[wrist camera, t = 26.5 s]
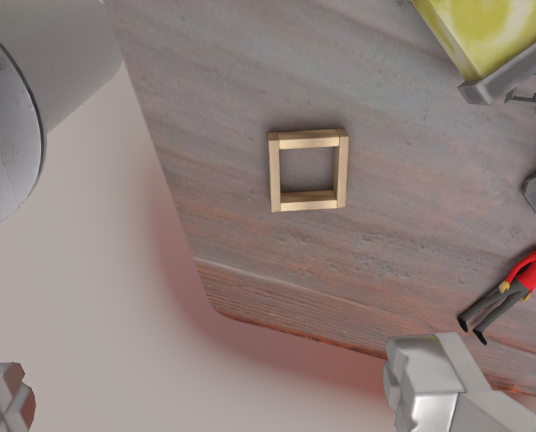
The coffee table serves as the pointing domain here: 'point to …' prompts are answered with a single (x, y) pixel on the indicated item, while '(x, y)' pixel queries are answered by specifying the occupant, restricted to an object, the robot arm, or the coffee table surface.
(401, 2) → the lantern
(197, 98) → the coffee table surface
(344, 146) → the frame
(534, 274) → the person figure
